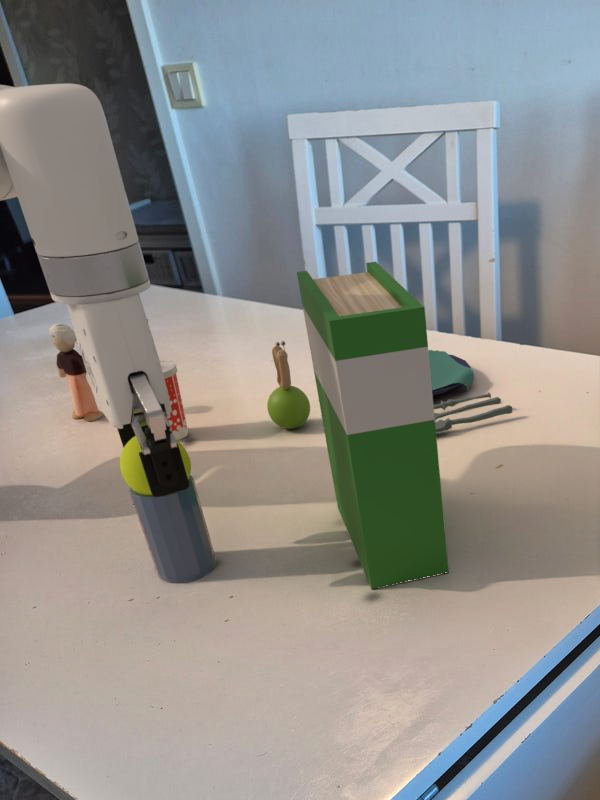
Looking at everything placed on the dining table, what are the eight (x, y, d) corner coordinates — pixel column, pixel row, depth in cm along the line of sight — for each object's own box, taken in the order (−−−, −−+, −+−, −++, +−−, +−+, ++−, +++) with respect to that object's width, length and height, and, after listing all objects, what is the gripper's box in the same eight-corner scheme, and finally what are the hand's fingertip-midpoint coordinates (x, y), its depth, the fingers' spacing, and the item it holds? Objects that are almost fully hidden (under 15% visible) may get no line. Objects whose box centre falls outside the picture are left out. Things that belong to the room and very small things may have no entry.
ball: (128, 515, 75) (105, 452, 71) (136, 487, 80) (115, 427, 76) (196, 504, 75) (177, 441, 72) (200, 477, 80) (182, 416, 77)
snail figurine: (277, 441, 107) (257, 345, 99) (268, 424, 111) (248, 332, 104) (319, 432, 108) (302, 338, 101) (308, 416, 113) (291, 325, 106)
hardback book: (337, 507, 91) (296, 272, 76) (404, 495, 92) (375, 261, 78) (371, 589, 77) (329, 320, 63) (448, 572, 79) (424, 307, 64)
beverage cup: (164, 425, 113) (133, 318, 105) (203, 428, 112) (175, 320, 103) (136, 443, 109) (102, 333, 100) (177, 446, 107) (144, 335, 99)
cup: (154, 586, 80) (125, 501, 74) (160, 557, 84) (134, 475, 79) (214, 578, 80) (190, 492, 75) (217, 549, 85) (195, 467, 79)
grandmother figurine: (59, 420, 117) (24, 327, 109) (77, 410, 120) (45, 318, 112) (104, 424, 115) (72, 329, 107) (121, 413, 118) (92, 321, 110)
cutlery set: (440, 355, 131) (439, 340, 130) (528, 416, 109) (528, 399, 107) (317, 379, 125) (314, 364, 123) (383, 450, 102) (381, 432, 101)
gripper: (30, 262, 71) (96, 452, 81) (65, 303, 58) (137, 521, 69) (121, 247, 74) (173, 433, 84) (172, 284, 61) (226, 495, 72)
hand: (157, 472), depth 76 cm, fingers open, 9 cm apart
